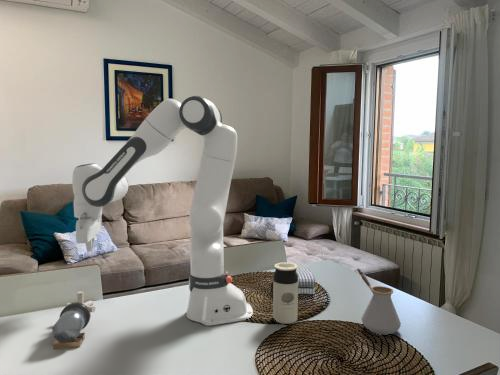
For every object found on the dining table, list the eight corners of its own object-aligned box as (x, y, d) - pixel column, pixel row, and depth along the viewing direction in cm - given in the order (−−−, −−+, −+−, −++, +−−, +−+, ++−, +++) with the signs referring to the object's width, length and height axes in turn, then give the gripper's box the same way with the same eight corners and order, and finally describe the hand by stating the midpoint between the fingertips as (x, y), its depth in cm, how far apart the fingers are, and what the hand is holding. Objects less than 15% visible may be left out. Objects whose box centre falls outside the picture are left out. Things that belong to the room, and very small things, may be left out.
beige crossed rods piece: (82, 331, 117) (82, 298, 117) (55, 327, 120) (55, 295, 119) (103, 319, 126) (104, 289, 126) (78, 316, 129) (78, 286, 129)
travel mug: (274, 313, 131) (274, 261, 130) (297, 314, 130) (298, 262, 129) (272, 323, 124) (272, 268, 122) (297, 325, 123) (298, 270, 121)
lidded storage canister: (61, 332, 117) (60, 303, 116) (91, 330, 118) (90, 301, 117) (50, 349, 107) (48, 317, 106) (82, 347, 108) (81, 315, 108)
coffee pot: (408, 336, 115) (410, 288, 114) (373, 340, 113) (375, 291, 111) (370, 308, 136) (372, 266, 135) (340, 311, 133) (341, 268, 132)
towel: (276, 297, 147) (277, 277, 146) (272, 281, 165) (272, 263, 164) (316, 297, 147) (317, 277, 146) (308, 280, 165) (308, 262, 165)
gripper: (90, 215, 123) (92, 257, 125) (103, 206, 143) (105, 243, 145) (69, 216, 122) (72, 259, 124) (85, 207, 142) (88, 243, 144)
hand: (90, 250), depth 134 cm, fingers closed
